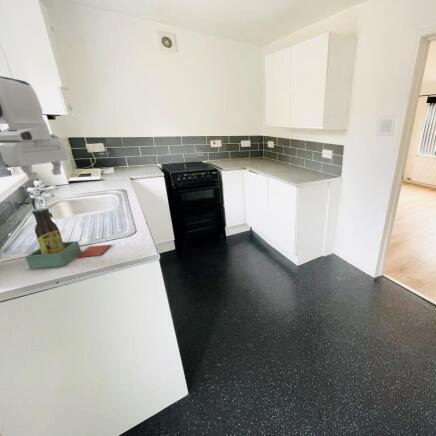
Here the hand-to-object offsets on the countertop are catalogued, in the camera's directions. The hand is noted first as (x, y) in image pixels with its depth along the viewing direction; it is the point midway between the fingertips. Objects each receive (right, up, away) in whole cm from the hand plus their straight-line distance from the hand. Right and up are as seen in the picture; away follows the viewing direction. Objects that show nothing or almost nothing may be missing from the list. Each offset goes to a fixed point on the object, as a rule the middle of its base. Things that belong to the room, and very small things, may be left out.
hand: (46, 176), depth 84 cm
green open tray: (-4, -30, +8) cm, 31 cm away
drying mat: (+5, -28, +14) cm, 31 cm away
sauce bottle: (-4, -30, +8) cm, 31 cm away
